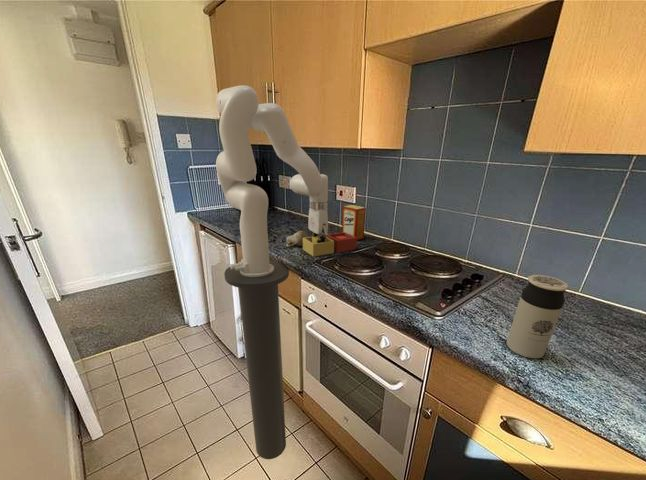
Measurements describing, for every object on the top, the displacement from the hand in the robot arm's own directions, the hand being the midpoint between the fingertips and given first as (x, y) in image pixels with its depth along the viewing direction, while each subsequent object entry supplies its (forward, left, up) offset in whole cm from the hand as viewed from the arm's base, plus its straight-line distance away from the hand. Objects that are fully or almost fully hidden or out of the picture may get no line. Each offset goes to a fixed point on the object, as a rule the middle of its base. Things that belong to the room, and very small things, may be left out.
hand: (318, 246), depth 133 cm
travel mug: (+11, -85, -2) cm, 86 cm away
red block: (+12, 0, -2) cm, 12 cm away
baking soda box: (+26, +11, -2) cm, 28 cm away
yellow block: (0, 0, 0) cm, 0 cm away
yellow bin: (0, 0, -2) cm, 2 cm away
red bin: (+12, 0, -2) cm, 12 cm away
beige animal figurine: (-5, +12, -2) cm, 13 cm away
